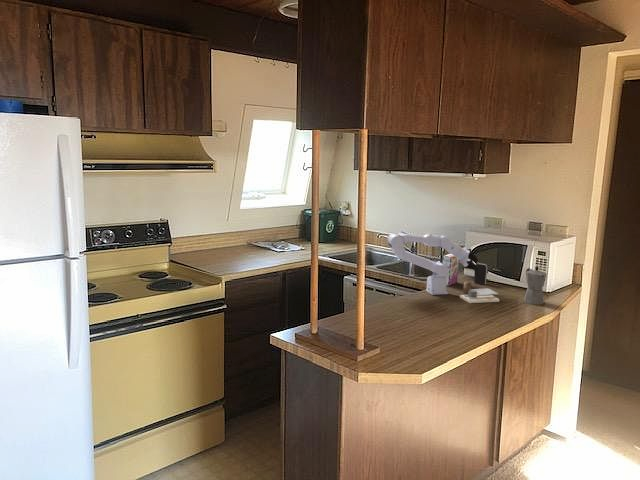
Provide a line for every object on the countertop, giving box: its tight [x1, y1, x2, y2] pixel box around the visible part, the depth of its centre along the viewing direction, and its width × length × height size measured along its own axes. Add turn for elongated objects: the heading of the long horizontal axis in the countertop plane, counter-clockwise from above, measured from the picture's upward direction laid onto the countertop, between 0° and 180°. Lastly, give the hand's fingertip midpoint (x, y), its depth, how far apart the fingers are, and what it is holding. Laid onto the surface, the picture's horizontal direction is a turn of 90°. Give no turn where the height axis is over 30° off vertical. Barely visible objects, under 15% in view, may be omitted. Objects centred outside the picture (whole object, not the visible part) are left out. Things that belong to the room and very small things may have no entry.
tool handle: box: [462, 281, 472, 295], centre depth 270 cm, size 4×4×6 cm
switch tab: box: [468, 290, 477, 298], centre depth 259 cm, size 3×3×3 cm
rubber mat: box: [471, 288, 499, 296], centre depth 273 cm, size 10×10×1 cm
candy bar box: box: [442, 253, 460, 287], centre depth 288 cm, size 11×5×16 cm, turn 141°
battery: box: [473, 262, 489, 285], centre depth 291 cm, size 7×4×11 cm, turn 45°
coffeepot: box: [523, 266, 547, 306], centre depth 257 cm, size 15×9×18 cm, turn 8°
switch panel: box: [459, 294, 500, 304], centre depth 260 cm, size 16×10×2 cm, turn 102°
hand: (477, 265), depth 271 cm, fingers open, 7 cm apart
